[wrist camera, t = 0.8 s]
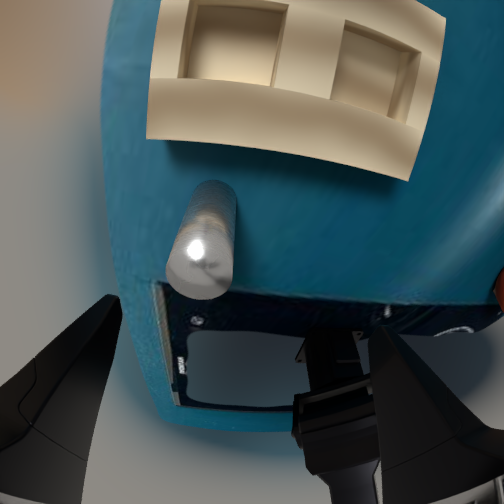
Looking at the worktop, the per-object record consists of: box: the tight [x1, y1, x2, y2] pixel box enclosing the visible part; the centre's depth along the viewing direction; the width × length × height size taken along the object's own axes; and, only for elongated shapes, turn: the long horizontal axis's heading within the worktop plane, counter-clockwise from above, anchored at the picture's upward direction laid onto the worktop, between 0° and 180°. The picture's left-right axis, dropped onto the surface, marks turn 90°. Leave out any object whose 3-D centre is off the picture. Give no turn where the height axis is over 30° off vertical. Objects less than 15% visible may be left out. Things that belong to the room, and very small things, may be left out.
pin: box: [166, 180, 237, 299], centre depth 16 cm, size 3×3×8 cm
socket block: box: [146, 0, 446, 181], centre depth 12 cm, size 12×16×3 cm
